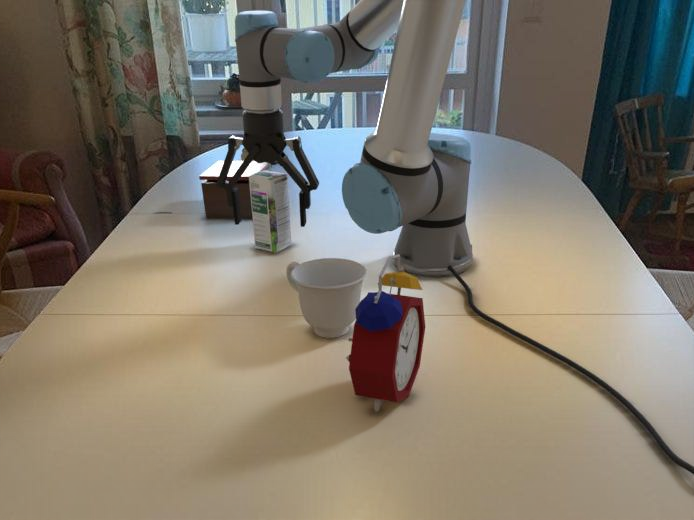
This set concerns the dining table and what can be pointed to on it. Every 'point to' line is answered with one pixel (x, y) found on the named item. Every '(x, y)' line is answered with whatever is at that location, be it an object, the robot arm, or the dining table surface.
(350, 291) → the teacup
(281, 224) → the syrup box
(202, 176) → the lid
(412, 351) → the alarm clock
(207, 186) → the chest
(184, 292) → the dining table surface
